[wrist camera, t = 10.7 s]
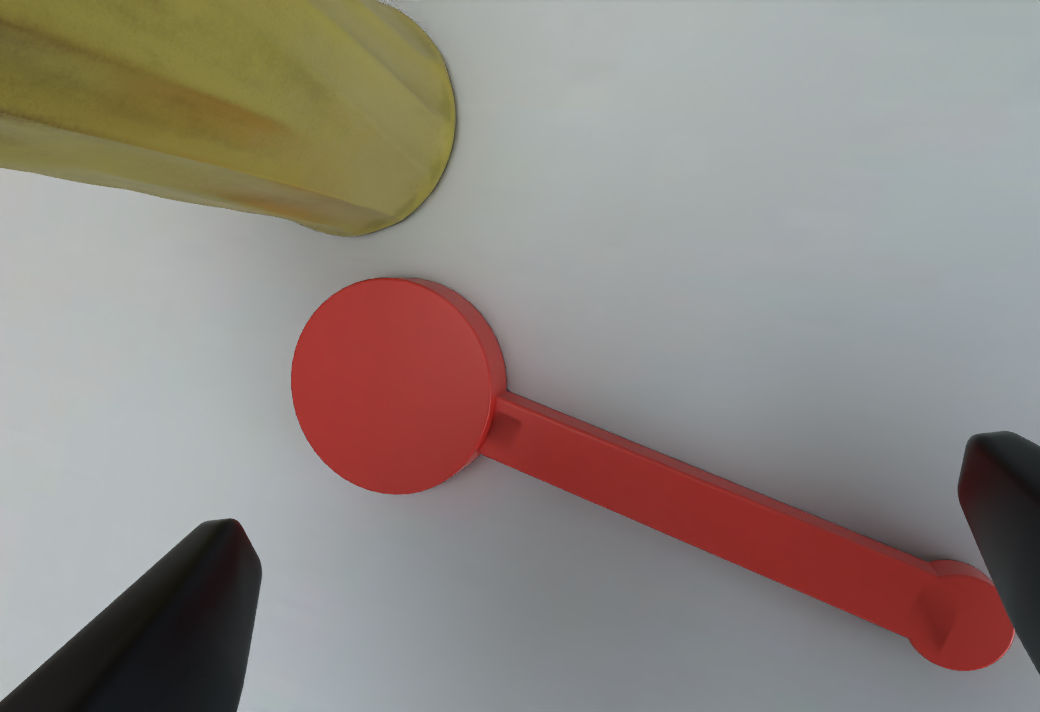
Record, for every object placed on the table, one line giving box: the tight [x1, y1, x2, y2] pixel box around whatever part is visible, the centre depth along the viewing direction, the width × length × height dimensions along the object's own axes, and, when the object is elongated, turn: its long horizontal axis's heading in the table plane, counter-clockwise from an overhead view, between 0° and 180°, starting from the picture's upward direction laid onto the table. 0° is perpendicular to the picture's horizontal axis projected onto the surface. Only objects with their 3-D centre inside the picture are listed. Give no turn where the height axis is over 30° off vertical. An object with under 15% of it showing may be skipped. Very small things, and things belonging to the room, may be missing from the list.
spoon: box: [291, 278, 1015, 671], centre depth 18 cm, size 6×18×1 cm, turn 70°
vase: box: [0, 0, 456, 236], centre depth 13 cm, size 6×6×14 cm
